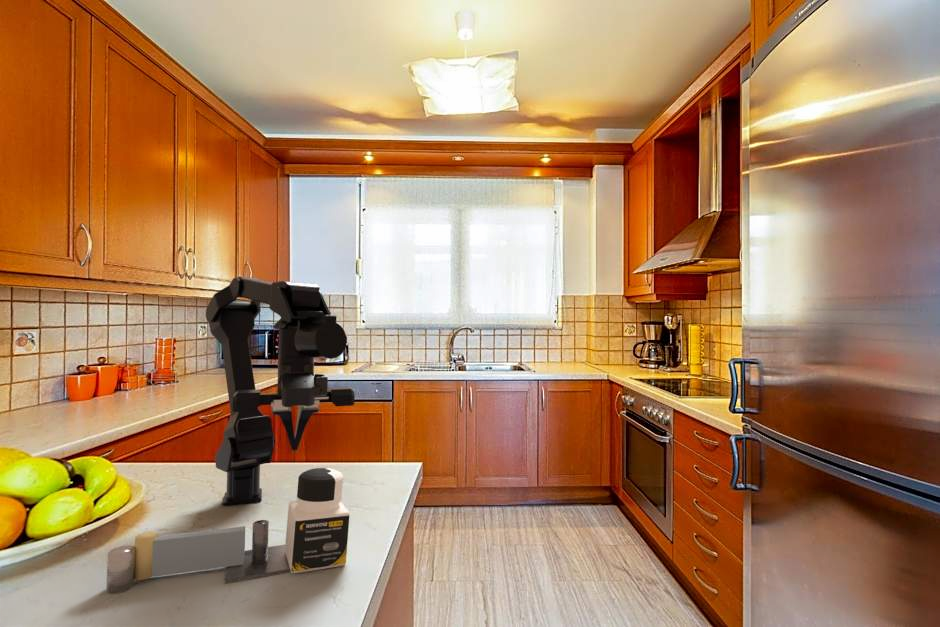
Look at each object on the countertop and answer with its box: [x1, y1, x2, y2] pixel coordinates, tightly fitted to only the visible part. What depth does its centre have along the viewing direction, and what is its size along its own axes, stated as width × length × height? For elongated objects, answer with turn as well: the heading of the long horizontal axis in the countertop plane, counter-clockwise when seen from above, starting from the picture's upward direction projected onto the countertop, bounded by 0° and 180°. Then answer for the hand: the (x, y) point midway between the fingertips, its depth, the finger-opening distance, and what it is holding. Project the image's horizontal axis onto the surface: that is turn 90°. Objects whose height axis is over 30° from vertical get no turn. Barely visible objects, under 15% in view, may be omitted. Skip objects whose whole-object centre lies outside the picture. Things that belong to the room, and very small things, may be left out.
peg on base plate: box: [224, 519, 291, 584], centre depth 66 cm, size 8×8×6 cm
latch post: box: [105, 544, 135, 594], centre depth 59 cm, size 3×3×4 cm
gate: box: [134, 526, 246, 581], centre depth 63 cm, size 13×2×5 cm, turn 109°
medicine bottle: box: [284, 467, 350, 574], centre depth 67 cm, size 7×7×12 cm
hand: (294, 450), depth 80 cm, fingers closed
